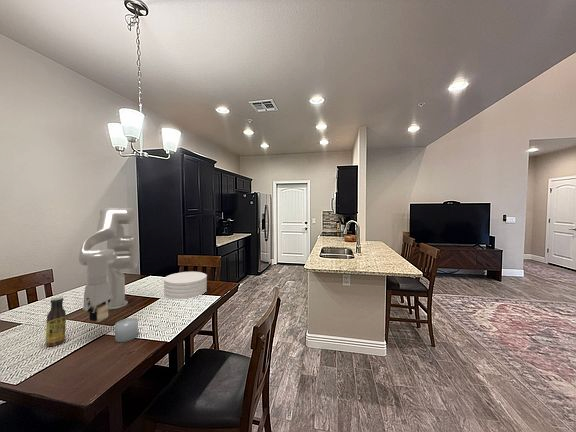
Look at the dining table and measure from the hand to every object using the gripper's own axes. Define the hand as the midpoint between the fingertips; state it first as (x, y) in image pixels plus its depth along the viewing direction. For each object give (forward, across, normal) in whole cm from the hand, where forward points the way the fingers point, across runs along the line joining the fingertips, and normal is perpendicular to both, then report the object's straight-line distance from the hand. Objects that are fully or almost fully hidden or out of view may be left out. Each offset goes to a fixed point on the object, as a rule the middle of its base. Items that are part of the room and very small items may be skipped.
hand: (98, 317), depth 114 cm
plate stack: (+12, -61, +8) cm, 62 cm away
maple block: (+1, 0, 0) cm, 1 cm away
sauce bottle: (+10, +8, -13) cm, 18 cm away
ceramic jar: (+9, -2, +13) cm, 16 cm away
